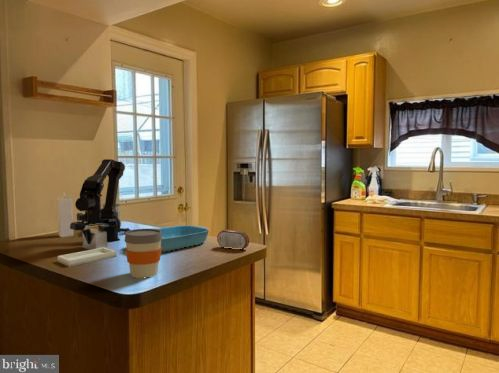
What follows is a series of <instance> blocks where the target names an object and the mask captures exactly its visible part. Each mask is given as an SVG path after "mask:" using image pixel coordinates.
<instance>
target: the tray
mask: <svg viewBox="0 0 499 373" xmlns="http://www.w3.org/2000/svg"><path fill="white" fill-rule="evenodd" d="M113 258H117V250H113V249H110V248H108V247H107V248H105V247H103V248H98V249H92V250H88V249H86V250H82V251H77V252H71V253H67V254H61V255H57V263H59V264H60V263H61V264H62V265H64V266H67V267H68V268H71V267H74V266H79V265H84V264H88V263H93V262H98V261H103V260H107V259H113Z"/></svg>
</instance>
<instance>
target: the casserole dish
mask: <svg viewBox="0 0 499 373" xmlns="http://www.w3.org/2000/svg"><path fill="white" fill-rule="evenodd" d="M157 229H158V230H161V233H162V240H161V247H162V248H161V253H167V252H166V251H168V252H172V251H171V250H173V251H176V250H175V249H178V250H181V249H180V248H182V249H185V248H184V247H187V248H190V247H189V246H192V247H194V246H193V245H196V246H199V245H198V244H200V245H202V244H203V243H205V242H206V240H207V237H208V235H209V231H210V229H208V228H207V227H205V226H200V225H188V224H186V225H185V224H183V225H182V224H181V225H172V226H167V227H166V226H165V227H159V228H157ZM201 243H202V244H201Z"/></svg>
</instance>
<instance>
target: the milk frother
mask: <svg viewBox="0 0 499 373" xmlns="http://www.w3.org/2000/svg"><path fill="white" fill-rule="evenodd" d="M120 205H121V203H116V205H115V209H116V211H117V213H118V218H119V220H120V221H121V219H120V218H121V217H120V216H121V214H120V213H121V210H120V209H121V208H120ZM104 207H105V203H103V204H102V209H103V208H104ZM130 230H131V228H129V227H125V228H121V227H120V228H118V233H121V232H122V233H123V232H124V234H125V233H126V232H127V231H130Z"/></svg>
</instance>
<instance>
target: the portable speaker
mask: <svg viewBox="0 0 499 373" xmlns="http://www.w3.org/2000/svg"><path fill="white" fill-rule="evenodd" d="M216 237H217V243H218V245H219V246H220V247H221V246H222V247H221V248H223V247H232V248H242V249H243V250H245V249H246V248H248V247H249V244H250V238H249V235H248V234H247V233H246V232H244V231H242V230H235V229H227V228H226V229H222V230H221V231H220V232H219V233H218V234H217V236H216ZM244 248H245V249H244Z"/></svg>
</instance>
